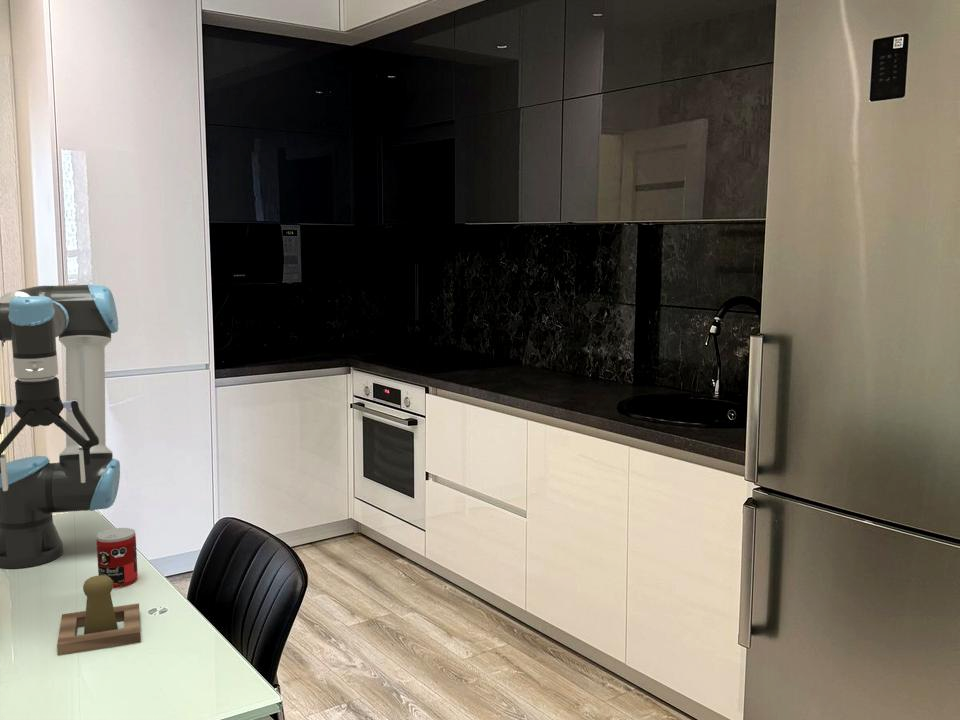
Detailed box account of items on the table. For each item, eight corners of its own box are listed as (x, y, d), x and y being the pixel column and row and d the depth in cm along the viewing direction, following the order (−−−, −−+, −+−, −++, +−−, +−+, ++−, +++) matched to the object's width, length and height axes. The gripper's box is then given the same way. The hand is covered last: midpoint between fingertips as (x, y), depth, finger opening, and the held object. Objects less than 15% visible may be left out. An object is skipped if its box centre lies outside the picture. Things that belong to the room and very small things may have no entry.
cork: (105, 641, 164) (102, 585, 163) (76, 638, 166) (73, 582, 164) (124, 627, 170) (121, 572, 169) (96, 624, 171) (93, 570, 170)
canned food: (91, 586, 190) (88, 537, 189) (117, 573, 198) (115, 525, 196) (119, 590, 188) (116, 541, 186) (145, 577, 195) (143, 529, 194)
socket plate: (62, 623, 172) (62, 614, 171) (139, 612, 177) (139, 603, 177) (57, 655, 159) (56, 644, 159) (140, 642, 164) (140, 632, 164)
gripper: (-42, 386, 160) (-31, 498, 163) (108, 376, 170) (114, 482, 173) (-36, 378, 166) (-26, 486, 170) (107, 370, 176) (113, 472, 180)
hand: (45, 485), depth 172 cm, fingers open, 13 cm apart
